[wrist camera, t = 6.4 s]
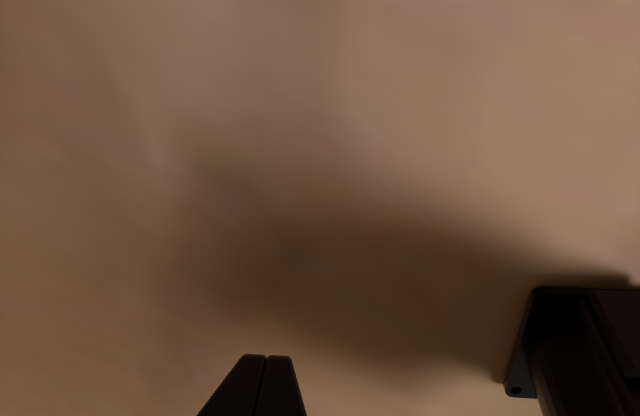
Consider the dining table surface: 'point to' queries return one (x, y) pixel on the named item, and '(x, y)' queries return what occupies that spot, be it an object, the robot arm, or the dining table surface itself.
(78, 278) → the dining table surface
